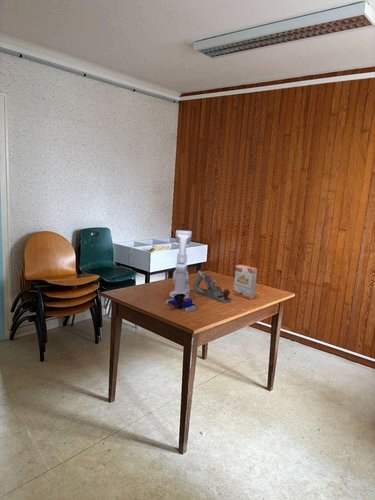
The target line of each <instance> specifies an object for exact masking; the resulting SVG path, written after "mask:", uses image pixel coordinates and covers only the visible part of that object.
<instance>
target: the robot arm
mask: <svg viewBox="0 0 375 500" xmlns="http://www.w3.org/2000/svg"><path fill="white" fill-rule="evenodd" d="M192 233H193V232H192V231H191V230H179V229H176V231H175V243H177V244H178V247H179V249H178V251H179V252H178V253H177V258H176V265H175V270H174V271H173V276H172V284H174V290H172V291H171V292H169V297H171V298H172V299H174V297H175V299H176V303H177V306H179V307H178V308H181V307H180V306H181V304H182V301H183V299H184V300H186V299H190V291H189V290H190V285H189V272H188V263H187V260H188V255H187V252H186V251H187V245H189V244H191V241H192ZM177 306H176V307H177Z"/></svg>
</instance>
